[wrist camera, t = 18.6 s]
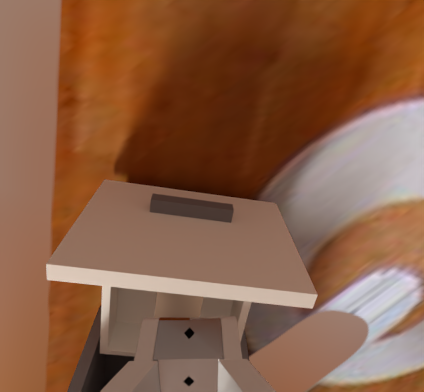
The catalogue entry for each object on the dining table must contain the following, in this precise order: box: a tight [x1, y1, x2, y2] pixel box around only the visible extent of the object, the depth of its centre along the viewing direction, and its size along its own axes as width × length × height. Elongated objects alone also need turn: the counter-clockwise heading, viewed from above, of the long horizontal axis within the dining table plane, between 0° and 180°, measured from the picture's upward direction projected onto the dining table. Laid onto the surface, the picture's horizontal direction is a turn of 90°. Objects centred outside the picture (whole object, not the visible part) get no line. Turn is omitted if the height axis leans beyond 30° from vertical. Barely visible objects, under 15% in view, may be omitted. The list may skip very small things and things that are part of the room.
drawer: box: [46, 180, 318, 357], centre depth 31 cm, size 17×19×14 cm
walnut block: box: [154, 292, 203, 318], centre depth 33 cm, size 4×10×7 cm, turn 171°
